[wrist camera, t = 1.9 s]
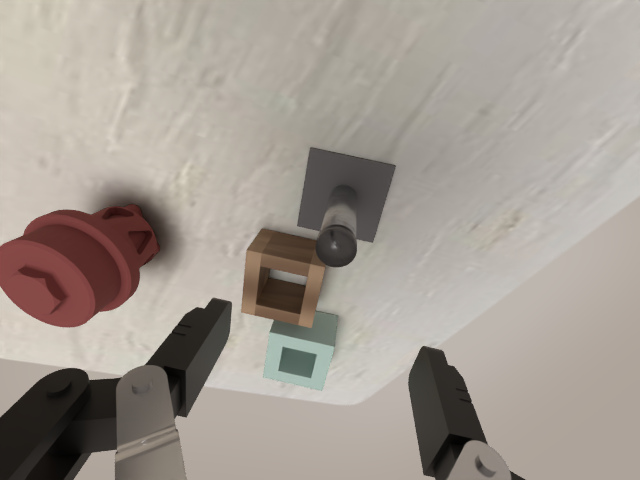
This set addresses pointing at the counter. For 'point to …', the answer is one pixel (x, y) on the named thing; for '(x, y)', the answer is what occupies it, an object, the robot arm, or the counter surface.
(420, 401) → the robot arm
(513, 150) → the counter surface
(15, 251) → the mechanical component
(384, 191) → the mat
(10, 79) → the counter surface
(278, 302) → the wooden square frame
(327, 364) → the teal block
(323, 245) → the cylinder
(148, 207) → the counter surface
